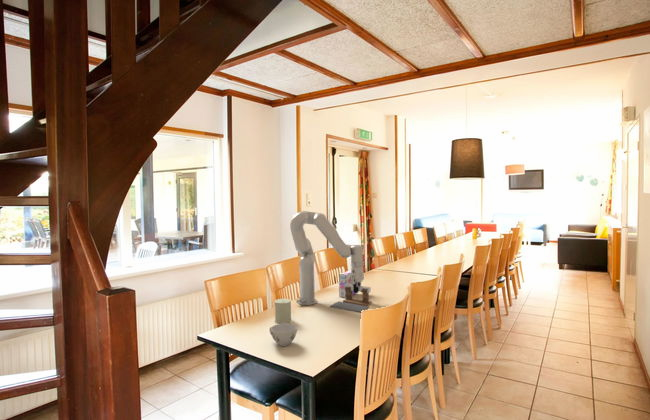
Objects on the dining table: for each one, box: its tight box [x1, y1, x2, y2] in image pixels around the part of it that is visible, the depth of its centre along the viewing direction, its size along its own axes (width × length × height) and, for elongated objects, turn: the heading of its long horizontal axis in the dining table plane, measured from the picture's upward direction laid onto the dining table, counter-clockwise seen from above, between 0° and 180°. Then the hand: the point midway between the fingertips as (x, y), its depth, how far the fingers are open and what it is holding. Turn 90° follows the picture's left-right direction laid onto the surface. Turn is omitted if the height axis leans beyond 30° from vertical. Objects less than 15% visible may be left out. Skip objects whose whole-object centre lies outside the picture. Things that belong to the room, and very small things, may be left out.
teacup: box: [269, 323, 298, 347], centre depth 172 cm, size 15×12×8 cm
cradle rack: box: [342, 287, 373, 307], centre depth 235 cm, size 8×17×10 cm, turn 57°
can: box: [274, 298, 292, 325], centre depth 203 cm, size 9×9×12 cm
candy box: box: [338, 269, 357, 299], centre depth 252 cm, size 14×6×16 cm, turn 143°
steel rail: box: [344, 284, 372, 294], centre depth 234 cm, size 3×18×3 cm, turn 57°
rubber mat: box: [329, 301, 370, 314], centre depth 226 cm, size 11×22×1 cm, turn 57°
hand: (357, 291), depth 235 cm, fingers closed on steel rail, 3 cm apart
